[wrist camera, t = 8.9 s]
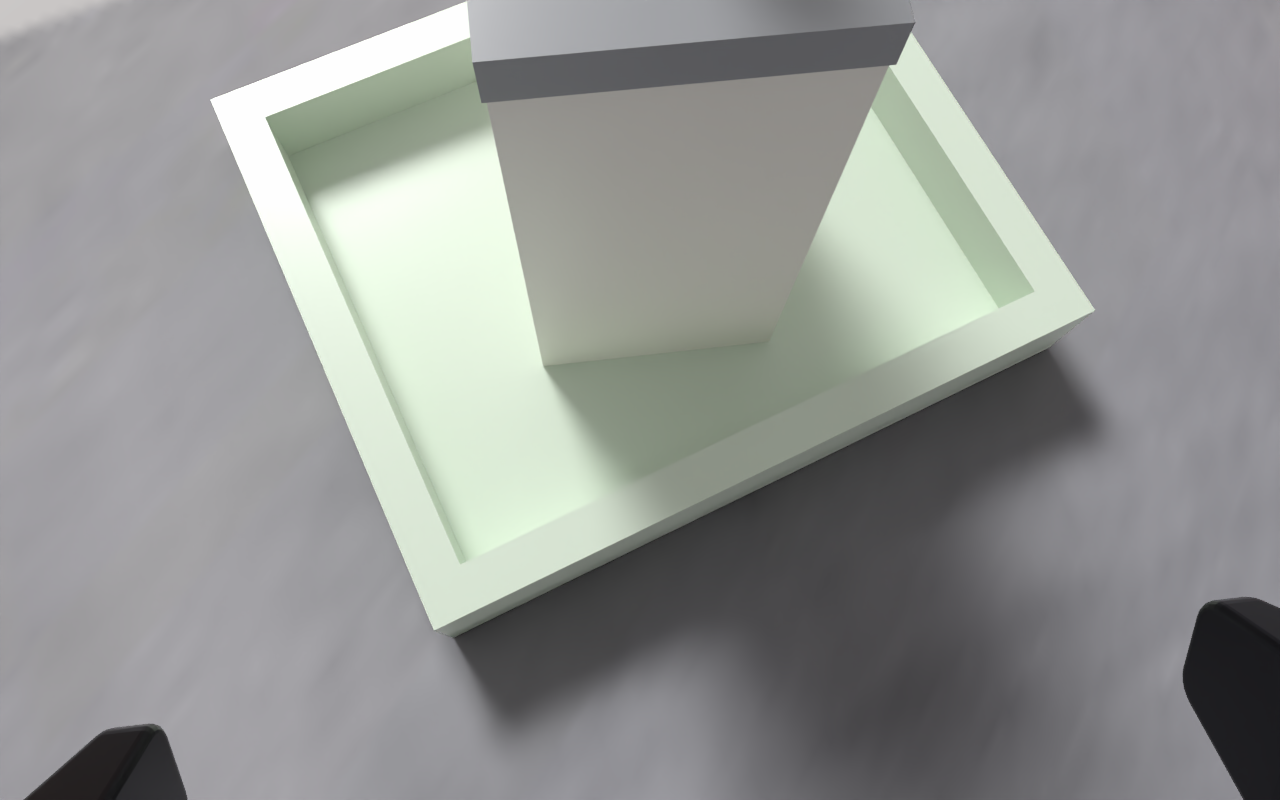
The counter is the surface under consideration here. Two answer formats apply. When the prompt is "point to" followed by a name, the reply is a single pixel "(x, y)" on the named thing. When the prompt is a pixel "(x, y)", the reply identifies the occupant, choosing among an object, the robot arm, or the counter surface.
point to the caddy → (672, 156)
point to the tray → (621, 387)
